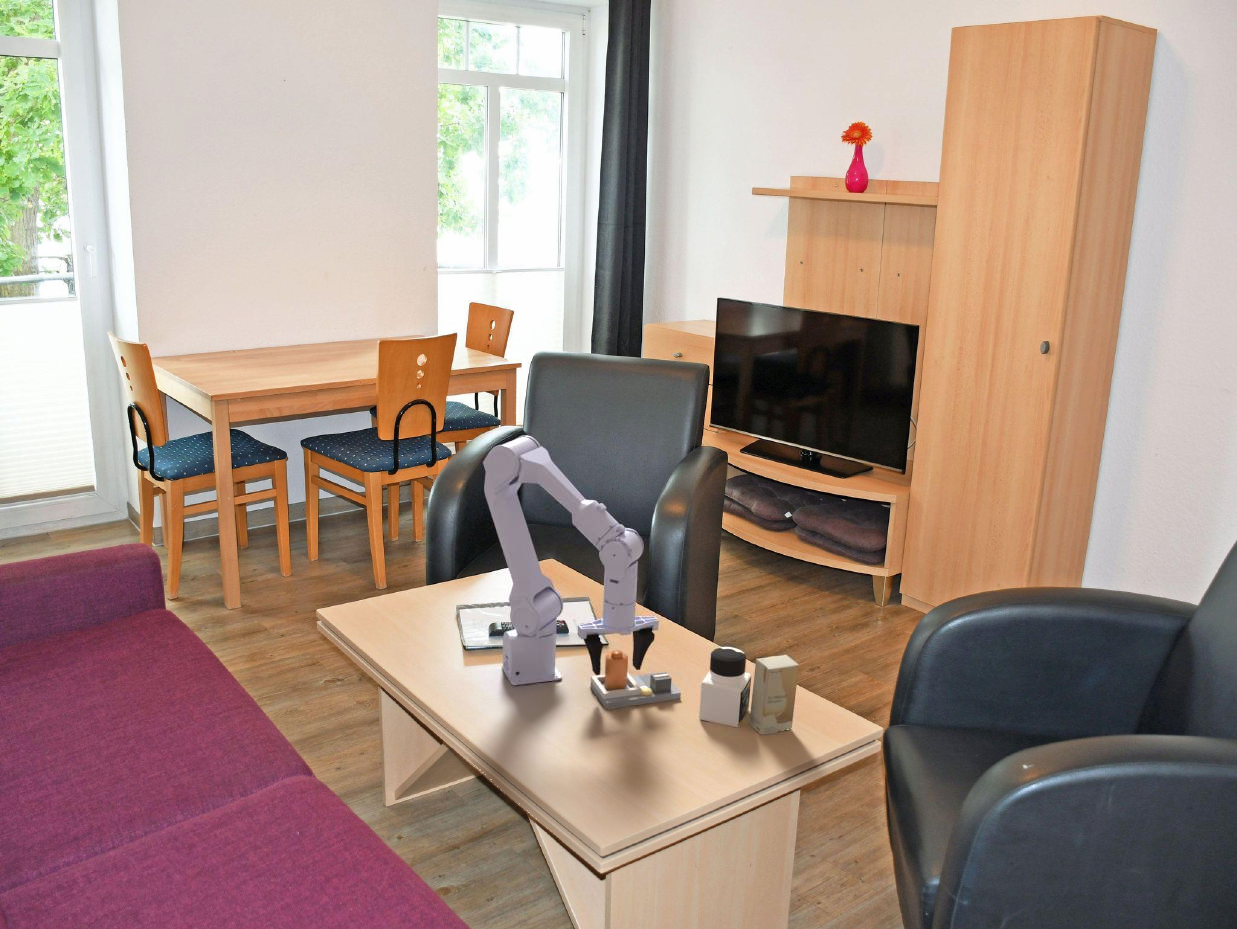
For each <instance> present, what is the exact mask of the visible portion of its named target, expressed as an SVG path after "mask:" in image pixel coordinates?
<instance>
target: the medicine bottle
mask: <svg viewBox="0 0 1237 929" xmlns="http://www.w3.org/2000/svg"><path fill="white" fill-rule="evenodd" d="M746 664H747V656H746V653H745V652H744V651H742V650H741V649H738V648H736V647H731V646H721V647H717V648H715V649H713V650H712V651H711V652H710V661H709V671H708V673H707V674H706V676H705V677H704V678H703V680H702V681H701V685H700V688H701V689H700V698H699V699H700V701H699V703H700V704H699V717H698V718H699V720H700V721H705V722H710V723H714V724H719V725H724V726H729V727H734V728H740V726H741V725H742V722H743V721H744V720H745V717H746V716H747V713H748V712H749V709H750V708H749V707H750V698H751V697H750V696H751V685H752V674H751V673H749V672H746Z"/></svg>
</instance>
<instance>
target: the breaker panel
mask: <svg viewBox="0 0 1237 929" xmlns="http://www.w3.org/2000/svg"><path fill="white" fill-rule="evenodd" d="M656 673H663V671H660V672H652V673H646V674H645V673H644V674H643V673H642V674H637V675H631V674H630V673H629V672H628V671H627V689H620V690H612V691H607V690H606V689H605V688H604V684H605V674H600V675H591V676H590V689H591V690H592V691H593V693H594V694H595V696H596V697H597V698H598V700H599V701H600V702H601V704H602V705H603V706H604V708H605V709H606V710H611V709H619V708H624V707H633V706H639V705H640V706H641V705H646V704H653V703H654V704H655V703H661V702H668V701H675V700H680V699H681V691H680V690H679V689H678V688H677V686H675V684H673V682H672V681H671V691H668V692H660V693H655V692H654V691H653V690H652V689H651V688H650V677H651V674H656Z"/></svg>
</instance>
